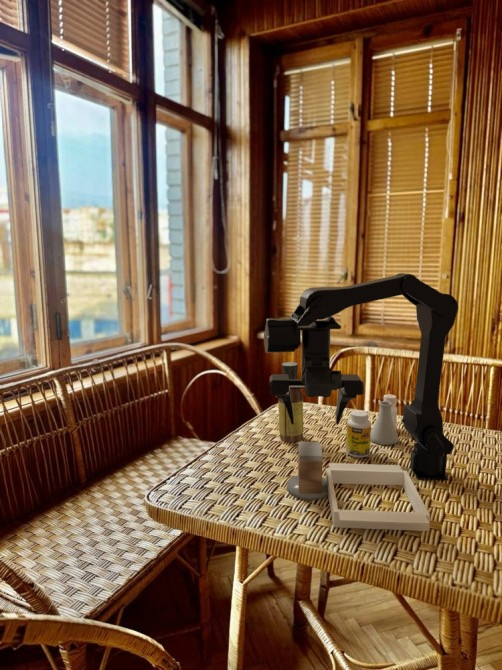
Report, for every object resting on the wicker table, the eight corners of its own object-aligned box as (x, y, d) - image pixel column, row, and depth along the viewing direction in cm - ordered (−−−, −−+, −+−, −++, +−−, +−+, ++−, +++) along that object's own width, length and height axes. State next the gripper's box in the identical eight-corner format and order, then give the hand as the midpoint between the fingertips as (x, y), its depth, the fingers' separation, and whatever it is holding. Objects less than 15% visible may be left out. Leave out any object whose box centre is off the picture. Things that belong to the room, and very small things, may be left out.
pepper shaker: (395, 433, 126) (397, 399, 124) (379, 431, 127) (381, 397, 125) (396, 427, 130) (398, 394, 128) (380, 426, 131) (382, 393, 129)
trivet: (329, 478, 102) (329, 475, 102) (333, 501, 93) (333, 497, 93) (286, 477, 102) (287, 473, 102) (287, 499, 94) (287, 495, 94)
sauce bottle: (307, 436, 124) (308, 362, 120) (296, 445, 119) (297, 368, 115) (285, 431, 127) (286, 359, 124) (273, 439, 122) (274, 364, 118)
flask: (380, 448, 117) (382, 409, 115) (363, 436, 124) (365, 400, 122) (404, 443, 120) (406, 405, 118) (386, 432, 126) (388, 397, 124)
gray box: (319, 477, 101) (320, 442, 99) (321, 493, 94) (322, 456, 93) (297, 477, 101) (298, 441, 99) (298, 492, 95) (299, 455, 93)
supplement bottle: (347, 458, 111) (349, 417, 109) (344, 448, 117) (345, 408, 115) (371, 458, 111) (373, 417, 109) (367, 448, 117) (369, 409, 115)
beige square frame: (402, 478, 102) (403, 465, 101) (433, 539, 81) (434, 523, 80) (324, 475, 103) (325, 462, 103) (334, 535, 82) (335, 519, 82)
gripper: (269, 360, 88) (269, 439, 91) (370, 360, 87) (367, 440, 90) (269, 347, 99) (269, 418, 102) (359, 347, 98) (357, 418, 101)
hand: (314, 423), depth 99 cm, fingers open, 9 cm apart
